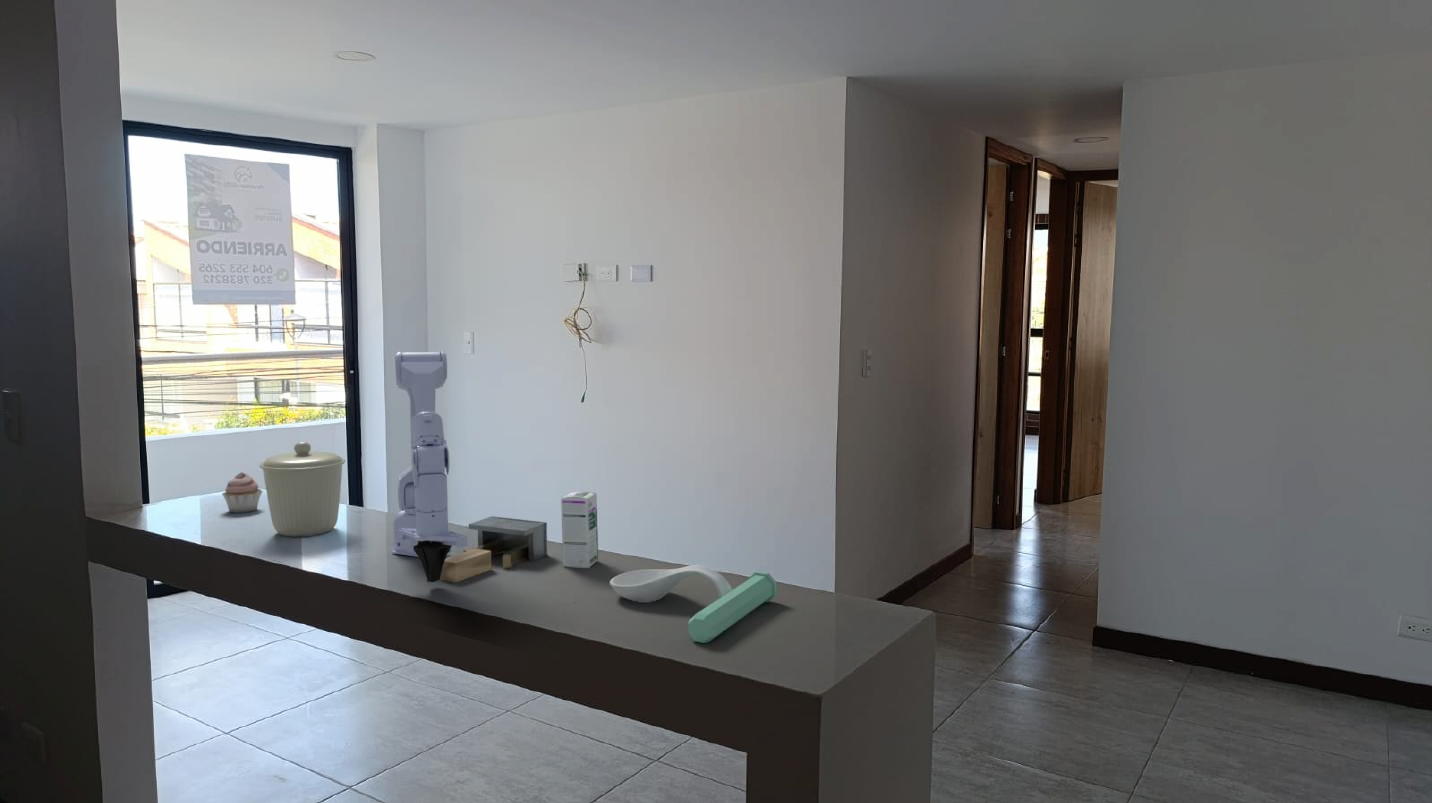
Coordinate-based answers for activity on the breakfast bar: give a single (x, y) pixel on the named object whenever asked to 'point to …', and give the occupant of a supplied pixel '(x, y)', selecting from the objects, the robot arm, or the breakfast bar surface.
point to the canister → (303, 490)
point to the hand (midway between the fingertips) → (433, 580)
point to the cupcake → (242, 494)
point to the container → (732, 607)
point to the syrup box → (579, 529)
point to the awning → (511, 538)
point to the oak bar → (466, 565)
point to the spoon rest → (663, 582)
